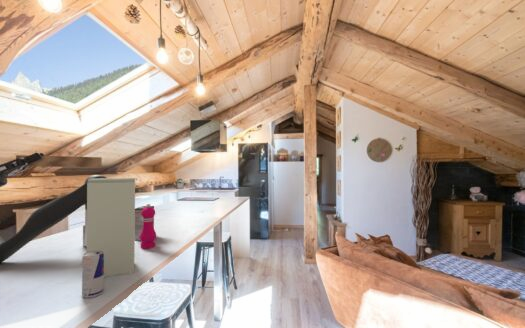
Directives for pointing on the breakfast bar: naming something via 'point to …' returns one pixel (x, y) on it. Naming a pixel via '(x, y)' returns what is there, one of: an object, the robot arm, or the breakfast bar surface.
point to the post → (112, 222)
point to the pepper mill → (148, 228)
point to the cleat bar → (65, 161)
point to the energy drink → (92, 274)
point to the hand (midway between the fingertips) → (41, 155)
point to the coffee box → (139, 222)
